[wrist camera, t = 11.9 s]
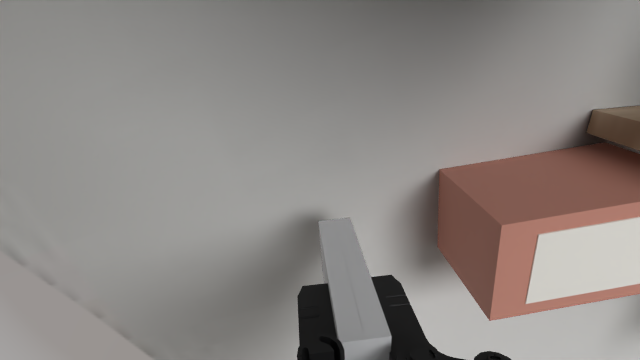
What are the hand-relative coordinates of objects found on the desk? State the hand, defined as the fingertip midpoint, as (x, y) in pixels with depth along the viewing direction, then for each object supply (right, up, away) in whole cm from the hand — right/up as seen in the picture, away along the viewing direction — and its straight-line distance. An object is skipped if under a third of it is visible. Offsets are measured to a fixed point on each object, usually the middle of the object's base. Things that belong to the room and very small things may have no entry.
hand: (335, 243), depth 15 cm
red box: (+10, +2, +3) cm, 11 cm away
